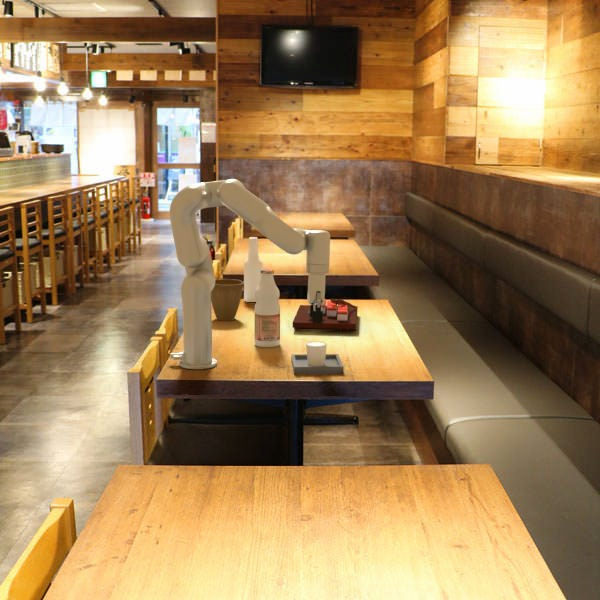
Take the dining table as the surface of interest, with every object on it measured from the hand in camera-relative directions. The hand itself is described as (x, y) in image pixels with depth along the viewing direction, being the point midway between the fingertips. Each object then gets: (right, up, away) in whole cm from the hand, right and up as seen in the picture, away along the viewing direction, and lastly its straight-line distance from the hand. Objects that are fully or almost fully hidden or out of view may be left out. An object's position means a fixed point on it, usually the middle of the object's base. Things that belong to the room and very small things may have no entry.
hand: (316, 319), depth 274 cm
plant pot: (-36, -2, +76) cm, 85 cm away
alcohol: (-27, +6, +114) cm, 118 cm away
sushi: (+6, -4, +69) cm, 69 cm away
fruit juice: (-17, -10, +33) cm, 39 cm away
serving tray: (0, -16, +3) cm, 16 cm away
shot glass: (0, -15, +3) cm, 15 cm away
